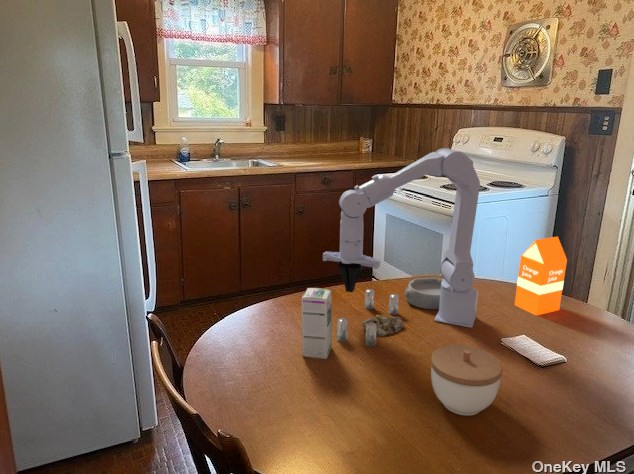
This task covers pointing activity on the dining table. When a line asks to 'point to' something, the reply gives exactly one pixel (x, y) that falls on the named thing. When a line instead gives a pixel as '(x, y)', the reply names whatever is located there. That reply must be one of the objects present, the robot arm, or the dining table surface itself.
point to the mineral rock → (385, 324)
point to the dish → (424, 293)
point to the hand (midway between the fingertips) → (350, 290)
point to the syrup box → (316, 323)
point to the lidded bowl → (465, 378)
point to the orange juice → (541, 277)
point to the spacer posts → (370, 327)
